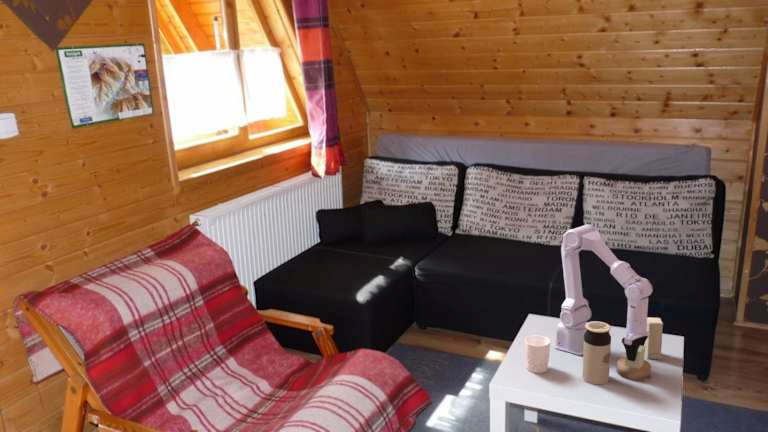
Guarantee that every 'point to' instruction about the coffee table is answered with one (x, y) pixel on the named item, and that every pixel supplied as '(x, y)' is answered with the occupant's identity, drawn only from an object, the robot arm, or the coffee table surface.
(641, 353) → the block
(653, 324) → the box
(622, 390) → the coffee table surface
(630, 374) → the coaster stand
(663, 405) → the coffee table surface
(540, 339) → the white cup
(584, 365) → the travel mug
